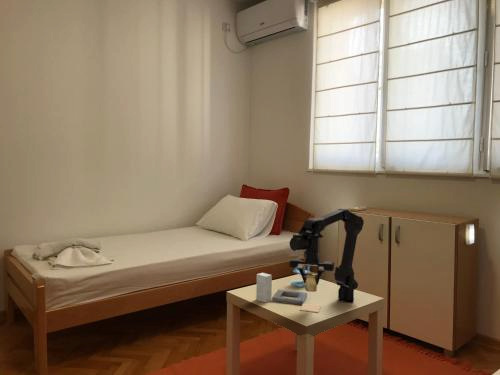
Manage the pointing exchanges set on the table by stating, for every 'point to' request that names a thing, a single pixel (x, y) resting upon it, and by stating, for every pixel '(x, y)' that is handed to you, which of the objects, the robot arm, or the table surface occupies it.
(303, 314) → the table surface
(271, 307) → the table surface
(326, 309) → the table surface
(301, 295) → the grey flat rectangular frame
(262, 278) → the skincare box
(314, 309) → the pad
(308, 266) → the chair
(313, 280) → the brass flared knob
